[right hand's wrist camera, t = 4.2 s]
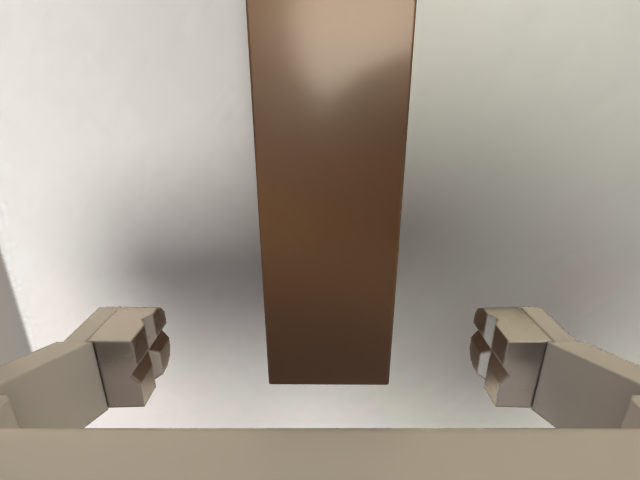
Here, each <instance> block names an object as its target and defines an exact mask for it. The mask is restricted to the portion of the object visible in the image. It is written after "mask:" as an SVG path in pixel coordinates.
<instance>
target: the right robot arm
mask: <svg viewBox="0 0 640 480" xmlns="http://www.w3.org/2000/svg"><path fill="white" fill-rule="evenodd" d="M165 324H166V318H165V313H164V311H163V310H162V309H161V308H155V307H100V308H98V309H97V310H96V311H95V312H94V313H93V314H92V315H91V316H90V317H89V318H88V319H87V320H86V321H85V322H84V323H83V324H82V325H80V326H79V327H78V328H77V329H76V330H75V331H74V332H73V333H72V334H71V335H70V336H69V337H68V338H67V339H66V340H65V341H64V342H56V343H53V344H51V345H48V346H46V347H44V348H41V349H39V350H37V351H34V352H32V353H30V354H27V355H25V356H23V357H20V358H18V359H16V360H13V361H11V362H8V363H6V364H4V365H2V366H0V480H640V366H638V365H636V364H634V363H631V362H629V361H627V360H624V359H622V358H620V357H617V356H615V355H613V354H610V353H608V352H606V351H603V350H601V349H599V348H596V347H594V346H592V345H589V344H587V343H584V342H576V341H575V340H574V339H573V338H572V337H571V336H570V335H569V334H568V333H567V332H566V331H565V330H564V329H563V328H562V327H561V326H560V325H559V324H557V323H556V322H555V321H554V320H553V319H552V318H551V317H550V316H549V315H548V314H547V313H546V312H545V311H544V310H543V309H542V308H539V307H536V306H534V307H499V308H478V309H477V311H476V313H475V317H474V324H475V326H476V327H477V329H478V331H477V332H476V333H475V334H474V335H473V336H472V337H471V343H470V356H471V361H472V365H473V367H474V369H475V371H476V373H477V374H478V375H479V376H481V377H482V378H484V379H485V384H484V387H485V389H486V391H487V393H488V394H489V396H490V398H491V400H492V401H493V403H494V405H495V407H530V408H532V410H533V411H535V412H536V413H537V414H539V415H540V416H541V417H543V418H544V419H545V420H546V421H548V422H549V423H550V424H552V425H553V426H554V427H556V428H85V427H86V426H87V425H88V424H90V423H91V422H92V421H94V420H95V419H96V418H98V417H99V416H100V415H102V414H103V413H104V412H105V411H107V410H108V408H110V407H145V405H146V403H147V401H148V400H149V398H150V396H151V394H152V393H153V391H154V389H155V387H156V384H155V379H156V378H158V377H159V376H161V375H162V374H163V373H164V371H165V369H166V367H167V365H168V361H169V356H170V342H169V337H168V336H167V335H166V334H165V333H164V332H163V331H162V329H163V327H164V326H165Z"/></svg>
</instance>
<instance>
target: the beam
mask: <svg viewBox="0 0 640 480" xmlns="http://www.w3.org/2000/svg"><path fill="white" fill-rule="evenodd" d="M416 3H417V0H246V13H247V29H248V46H249V62H250V79H251V95H252V112H253V128H254V144H255V161H256V177H257V194H258V210H259V227H260V243H261V260H262V276H263V293H264V309H265V325H266V342H267V358H268V375H269V383H270V384H361V385H387V384H388V383H389V372H390V359H391V345H392V331H393V317H394V304H395V290H396V276H397V263H398V249H399V235H400V222H401V208H402V194H403V181H404V167H405V153H406V140H407V126H408V112H409V99H410V85H411V71H412V58H413V44H414V30H415V17H416Z"/></svg>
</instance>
